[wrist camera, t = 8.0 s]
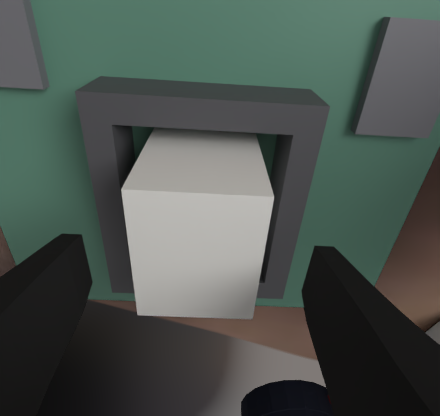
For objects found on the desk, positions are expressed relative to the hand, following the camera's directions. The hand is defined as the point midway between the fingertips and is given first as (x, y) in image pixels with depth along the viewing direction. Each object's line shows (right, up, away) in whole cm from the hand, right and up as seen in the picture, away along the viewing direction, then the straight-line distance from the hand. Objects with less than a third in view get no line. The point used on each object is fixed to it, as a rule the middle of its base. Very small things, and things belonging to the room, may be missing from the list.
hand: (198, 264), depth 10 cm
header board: (0, +3, +5) cm, 6 cm away
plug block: (0, +3, +4) cm, 5 cm away
